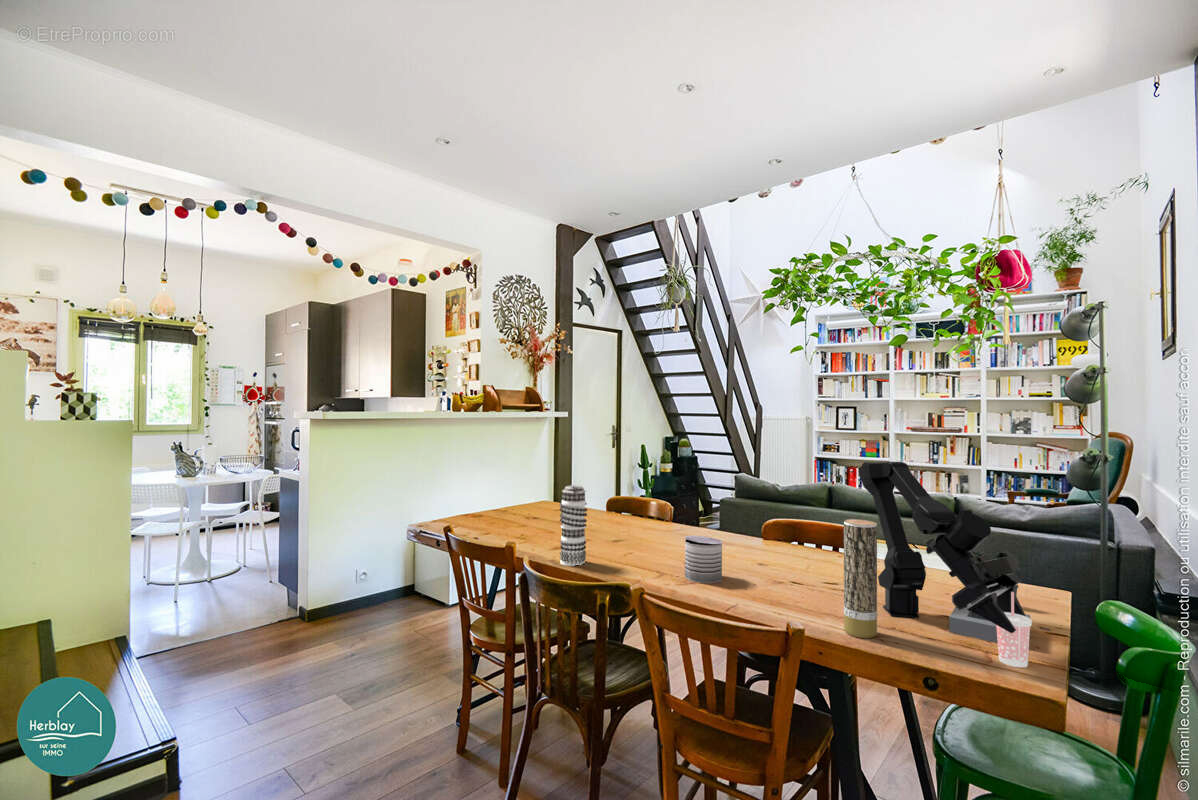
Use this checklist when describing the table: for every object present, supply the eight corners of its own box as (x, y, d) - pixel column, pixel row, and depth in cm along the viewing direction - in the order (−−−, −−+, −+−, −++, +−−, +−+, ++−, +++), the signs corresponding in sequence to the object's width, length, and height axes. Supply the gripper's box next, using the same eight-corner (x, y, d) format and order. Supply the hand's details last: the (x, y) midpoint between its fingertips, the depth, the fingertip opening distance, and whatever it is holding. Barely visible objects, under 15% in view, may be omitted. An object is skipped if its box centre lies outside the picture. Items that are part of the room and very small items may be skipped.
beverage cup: (1023, 657, 114) (1023, 588, 114) (1038, 671, 108) (1037, 598, 109) (989, 654, 116) (988, 586, 116) (1001, 666, 110) (1001, 595, 110)
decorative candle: (557, 559, 187) (558, 484, 188) (584, 558, 189) (585, 484, 190) (560, 566, 178) (561, 488, 179) (589, 565, 180) (589, 487, 181)
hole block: (1026, 649, 118) (1026, 632, 118) (949, 632, 127) (949, 616, 127) (1030, 630, 129) (1030, 615, 129) (958, 615, 138) (958, 601, 138)
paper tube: (867, 627, 130) (867, 519, 130) (883, 639, 123) (883, 525, 123) (838, 627, 129) (838, 519, 130) (852, 639, 123) (852, 525, 123)
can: (681, 572, 174) (681, 533, 174) (717, 572, 174) (717, 533, 174) (688, 583, 162) (688, 542, 162) (727, 583, 163) (727, 542, 163)
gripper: (968, 544, 111) (1035, 617, 101) (1009, 534, 121) (1074, 600, 111) (927, 574, 117) (986, 646, 108) (970, 562, 127) (1028, 627, 118)
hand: (1021, 628), depth 111 cm, fingers closed on beverage cup, 6 cm apart
